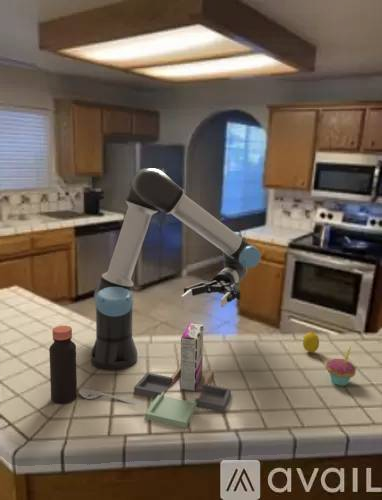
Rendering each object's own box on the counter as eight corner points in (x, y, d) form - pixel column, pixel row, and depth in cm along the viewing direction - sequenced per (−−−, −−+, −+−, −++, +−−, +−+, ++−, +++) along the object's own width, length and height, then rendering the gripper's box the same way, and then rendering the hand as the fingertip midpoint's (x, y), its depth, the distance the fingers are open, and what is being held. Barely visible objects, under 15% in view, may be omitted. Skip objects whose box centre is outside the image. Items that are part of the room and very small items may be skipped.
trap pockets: (133, 393, 112) (134, 387, 112) (146, 378, 120) (146, 372, 120) (223, 412, 105) (224, 406, 104) (230, 395, 113) (231, 388, 113)
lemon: (299, 349, 145) (301, 328, 143) (314, 349, 145) (316, 328, 144) (305, 356, 139) (307, 335, 138) (320, 356, 140) (322, 335, 138)
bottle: (62, 407, 104) (60, 336, 101) (45, 399, 108) (43, 329, 104) (82, 395, 110) (80, 328, 106) (65, 388, 114) (63, 322, 110)
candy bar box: (186, 371, 126) (188, 322, 123) (202, 373, 125) (204, 324, 122) (178, 389, 115) (180, 336, 112) (195, 391, 114) (197, 338, 111)
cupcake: (353, 378, 125) (357, 342, 123) (354, 391, 117) (359, 354, 115) (324, 373, 128) (328, 338, 126) (324, 385, 120) (328, 348, 118)
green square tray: (144, 418, 101) (144, 413, 101) (160, 396, 111) (160, 391, 111) (185, 428, 98) (185, 422, 97) (198, 404, 108) (198, 399, 108)
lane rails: (170, 383, 118) (170, 378, 118) (180, 368, 127) (180, 364, 127) (205, 390, 115) (205, 385, 115) (213, 375, 124) (213, 370, 124)
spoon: (82, 391, 113) (82, 386, 113) (151, 401, 109) (152, 396, 109) (75, 399, 109) (75, 393, 109) (147, 410, 105) (147, 404, 105)
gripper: (259, 292, 139) (240, 316, 120) (195, 288, 150) (168, 309, 131) (258, 272, 137) (238, 292, 119) (193, 269, 148) (166, 288, 130)
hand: (201, 301), depth 125 cm, fingers open, 13 cm apart
